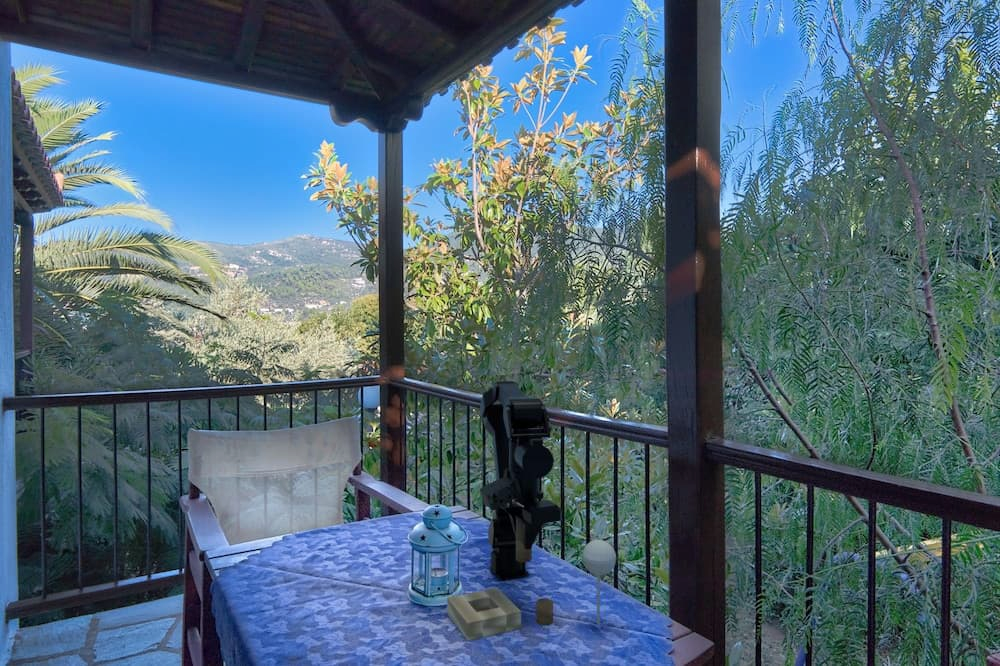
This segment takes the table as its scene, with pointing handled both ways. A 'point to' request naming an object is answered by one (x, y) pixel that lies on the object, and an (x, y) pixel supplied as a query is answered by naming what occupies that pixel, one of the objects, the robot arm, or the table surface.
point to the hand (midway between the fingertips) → (523, 546)
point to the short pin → (544, 611)
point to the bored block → (483, 613)
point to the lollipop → (599, 563)
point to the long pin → (521, 545)
